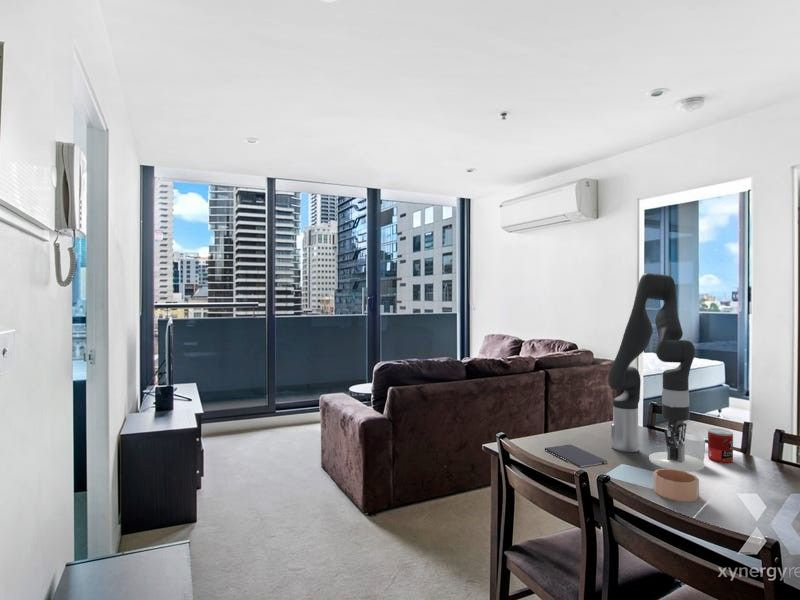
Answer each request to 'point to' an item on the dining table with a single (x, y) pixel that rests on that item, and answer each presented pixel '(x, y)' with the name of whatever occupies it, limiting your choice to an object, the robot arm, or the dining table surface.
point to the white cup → (695, 446)
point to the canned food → (720, 445)
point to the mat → (633, 475)
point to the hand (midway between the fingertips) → (675, 457)
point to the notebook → (576, 455)
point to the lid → (681, 464)
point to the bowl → (676, 484)
